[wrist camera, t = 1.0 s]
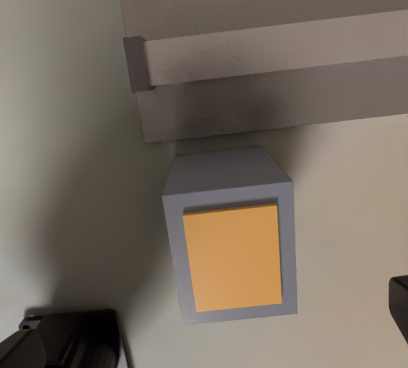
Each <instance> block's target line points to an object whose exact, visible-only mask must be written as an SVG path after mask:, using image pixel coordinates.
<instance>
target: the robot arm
mask: <svg viewBox="0 0 408 368" xmlns="http://www.w3.org/2000/svg"><path fill="white" fill-rule="evenodd" d="M389 310H390V313H391V315H392V317H393V319H394V321H395V322H396V324H397V326H398V328H399V330H400V331H401V333H402V335H403V337H404V338H405V340H406V342H407V344H408V275H404V276H397V277H392V278H391V279H390V281H389ZM107 316H110V317H112V318H111V319H110V318H108V317H107ZM26 325H28V326H30V327H28V326H26ZM0 368H130V367H129V362H128V358H127V353H126V349H125V345H124V340H123V336H122V331H121V327H120V323H119V318H118V314H117V312H116V311H115V310H112V309H106V310H96V311H86V312H73V313H63V314H54V315H45V316H38V317H29V318H25V319H23V320H22V322H21V323H20V325H19V331H17V332H15V333H14V334H12V335H11V336H9V337H8V338H7V339H5V340H4V341H2V342H1V343H0Z"/></svg>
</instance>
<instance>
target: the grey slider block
mask: <svg viewBox="0 0 408 368" xmlns="http://www.w3.org/2000/svg"><path fill="white" fill-rule="evenodd" d="M162 200H163V206H164V213H165V219H166V225H167V231H168V238H169V244H170V250H171V256H172V263H173V269H174V275H175V281H176V288H177V294H178V300H179V306H180V313H181V319H182V325H191V324H201V323H211V322H220V321H230V320H240V319H249V318H259V317H269V316H278V315H288V314H298V311H297V282H296V254H295V225H294V197H293V181H292V180H291V179H290V178H289V176H288V175H287V174H286V173H285V172H284V171H283V170H282V169H281V168H280V167H279V165H278V164H277V163H276V162H275V161H274V160H273V159H272V158H271V157H270V155H269V154H268V153H267V152H266V151H265V150H264V149H263V148H262V147H261V146H255V147H246V148H237V149H228V150H219V151H211V152H202V153H193V154H184V155H175V156H174V159H173V162H172V166H171V169H170V172H169V175H168V178H167V181H166V185H165V188H164V191H163V194H162Z"/></svg>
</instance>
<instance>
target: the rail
mask: <svg viewBox="0 0 408 368" xmlns="http://www.w3.org/2000/svg"><path fill="white" fill-rule="evenodd" d="M120 1H121V7H122V13H123V19H124V25H125V31H126V37H125V38H123V42H124V47H125V53H126V59H127V65H128V71H129V77H130V82H131V88H132V93H133V92H136V96H137V102H138V108H139V114H140V120H141V126H142V132H143V138H144V144H145V143H154V142H163V141H171V140H180V139H189V138H198V137H206V136H215V135H224V134H232V133H241V132H250V131H259V130H267V129H276V128H285V127H293V126H302V125H311V124H320V123H328V122H337V121H346V120H354V119H363V118H372V117H381V116H389V115H398V114H407V113H408V0H120Z"/></svg>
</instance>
